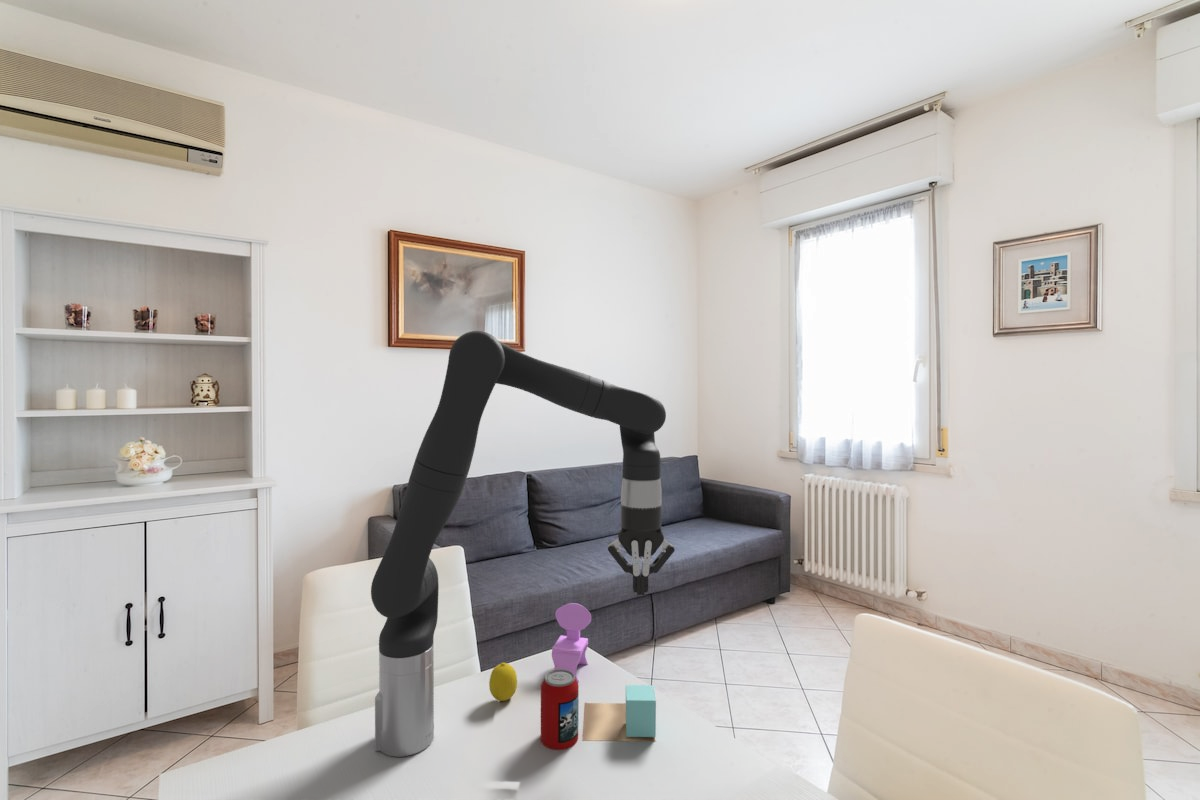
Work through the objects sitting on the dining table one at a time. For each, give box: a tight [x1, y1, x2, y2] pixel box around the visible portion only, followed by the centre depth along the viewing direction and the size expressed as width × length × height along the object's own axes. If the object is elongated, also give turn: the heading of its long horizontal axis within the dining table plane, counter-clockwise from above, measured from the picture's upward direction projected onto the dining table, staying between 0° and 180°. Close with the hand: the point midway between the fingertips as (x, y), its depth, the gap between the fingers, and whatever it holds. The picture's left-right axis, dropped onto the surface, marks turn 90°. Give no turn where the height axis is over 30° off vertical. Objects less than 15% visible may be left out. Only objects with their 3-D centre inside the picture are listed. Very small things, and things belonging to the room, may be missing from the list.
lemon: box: [488, 662, 518, 702], centre depth 116 cm, size 6×6×8 cm
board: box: [582, 702, 656, 742], centre depth 109 cm, size 13×12×1 cm
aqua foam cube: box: [625, 684, 657, 738], centre depth 106 cm, size 5×5×7 cm
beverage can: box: [540, 669, 580, 751], centre depth 103 cm, size 7×7×12 cm
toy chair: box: [551, 602, 592, 683], centre depth 127 cm, size 8×9×15 cm
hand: (640, 594), depth 108 cm, fingers closed
